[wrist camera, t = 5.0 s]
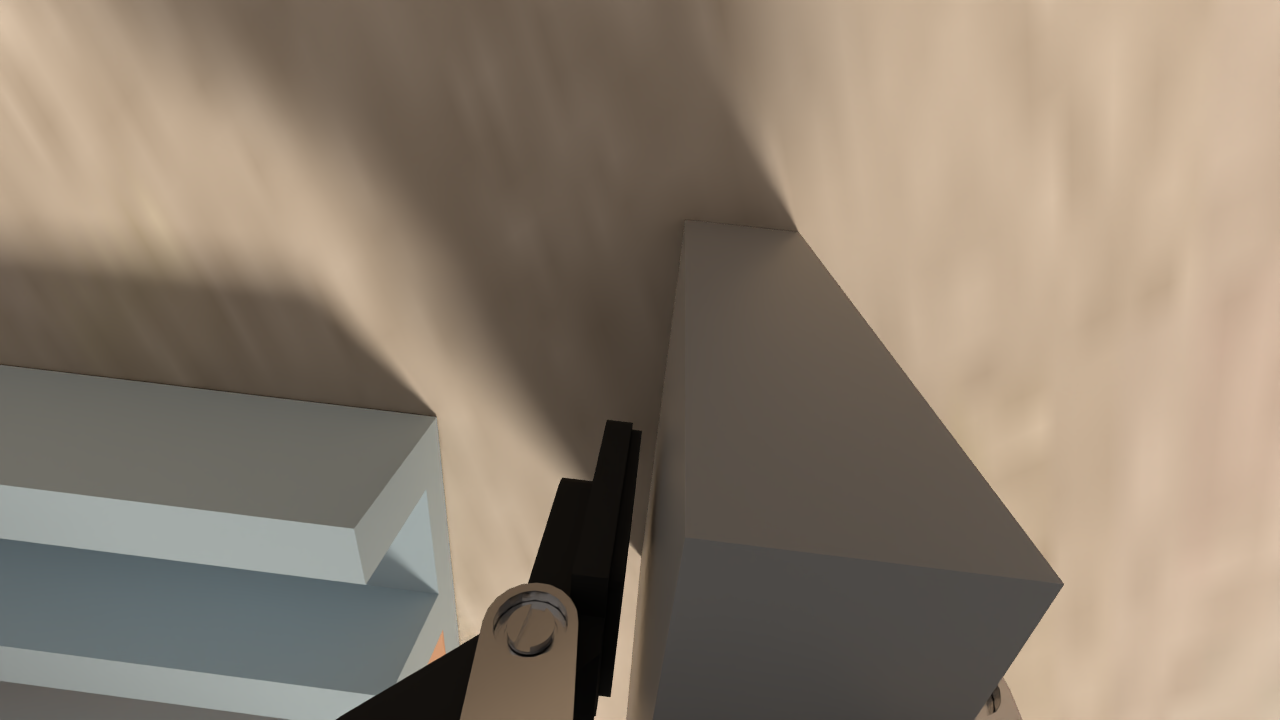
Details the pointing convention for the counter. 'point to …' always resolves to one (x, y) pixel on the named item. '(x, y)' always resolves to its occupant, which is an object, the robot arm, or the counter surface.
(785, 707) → the panel
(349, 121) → the counter surface
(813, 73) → the counter surface
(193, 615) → the rack
